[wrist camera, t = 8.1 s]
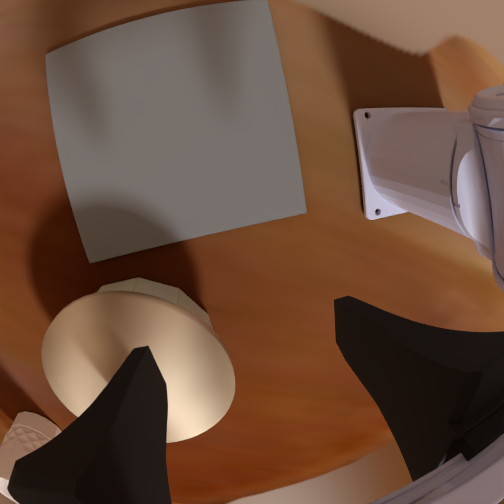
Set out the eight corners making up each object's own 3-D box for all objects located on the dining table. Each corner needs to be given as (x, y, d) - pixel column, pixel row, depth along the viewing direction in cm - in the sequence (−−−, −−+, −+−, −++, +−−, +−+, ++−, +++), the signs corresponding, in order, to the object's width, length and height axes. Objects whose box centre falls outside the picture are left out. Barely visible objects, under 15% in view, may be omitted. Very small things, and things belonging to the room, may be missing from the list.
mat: (265, 2, 15) (266, -1, 15) (303, 210, 21) (306, 212, 20) (48, 56, 14) (44, 54, 13) (92, 260, 19) (89, 263, 19)
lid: (207, 268, 16) (211, 316, 12) (249, 421, 21) (261, 471, 16) (15, 309, 15) (-20, 352, 11) (97, 439, 20) (88, 484, 15)
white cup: (5, 418, 23) (-20, 479, 14) (26, 397, 23) (-4, 469, 13) (55, 455, 26) (40, 516, 17) (83, 439, 25) (68, 512, 16)
